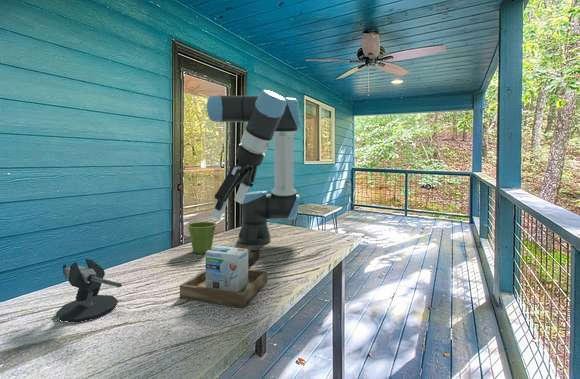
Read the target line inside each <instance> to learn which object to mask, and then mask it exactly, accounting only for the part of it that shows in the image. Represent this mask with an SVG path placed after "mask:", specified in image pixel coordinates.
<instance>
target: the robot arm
mask: <svg viewBox="0 0 580 379" xmlns="http://www.w3.org/2000/svg"><path fill="white" fill-rule="evenodd" d="M206 102H207V103H206V111H207V112H206V114H207V116H208V118H209V120H210V121H211V122H213V123H214V122H216V123H245V124H247V125H246V127H245V129H244V132H243V134H242V135H241V138H240V143H239V144H238V147H237V149H236V152H235V157H236V159H237V160H238V163H236V165H235V166H234V165H232V166H231V167H230V169H229V171H228V172H227V174H226V176H225V177H224V180H223V182H222V183H221V185H220V186H219V188H218V189H217V192H216V193H215V194H214V197H213V198H214V199H216V202H215V205H214V207H213V210H212V213H211V214H210V216H211V217H212V218H215V219H216V220H218V221H220V220H221V218H222V216H223V215H224V211H225V208H226V207H227V204H228V198H230V196H231V195H232V194H233V192H234V191H235V189H236V187H237V186H238V185H239V183H240V185H239V187H238V190H237V192H236V194H235V197H234V199H233V200H234V201H235V202H237V203H238V204H241V227H240V230H239V233H238V243H240V244H244V245H249V246H250V245H251V246H253V245H254V246H255V245H256V246H257V245H258V246H259V245H264V244H268V243H270V242H271V239H272V238H271V233H270V230H269V226H268V220H285V221H287V220H288V221H290V220H296V219H297V216H298V213H299V212H298V211H299V205H300V194H298V193H297V192H298V191H297V189H296V188H294V187H295V186H294V177H295V176H294V169H295V168H294V162H295V161H294V158H295V154H294V153H295V151H294V148H295V147H294V144H295V142H294V141H295V134H296V133H297V132H298V128H300V127H301V125H302V124H301V121H302V120H301V112H300V111H301V110H300V106H299V105H300V104H299V101H298V99H296V98H293V97H283V96H281V95H279V94H278V93H276V92H273V91H270V90H266V89H262V90H260V92H259V93H258V95H220V94H218V95H211V96H209V97H208V98H207V101H206ZM272 139H273V157H274V158H273V160H274V161H273V162H274V164H273V165H274V166H273V167H274V168H273V169H274V171H273V172H274V174H273V175H274V177H273V178H274V188H272V190H271V192H270V193H268V191H267V190H258V191H257V190H256V191H249V188H252V187H253V186H254V182H255V179H256V176H257V171H258V170H257V169H258V167H260V166H261V164H262V162H263V160H264V157H265V156H266V154H265V153H267V151H268V148H271V147H272V144H271V141H272ZM248 191H249V192H248Z"/></svg>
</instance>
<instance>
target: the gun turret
mask: <svg viewBox="0 0 580 379" xmlns="http://www.w3.org/2000/svg"><path fill="white" fill-rule="evenodd" d="M85 263H86V265H87V267H85V266H82V265H78V264H77V262H76V261H75V262H73V263H72V264H70V266H67V264H63V265H62V269H63V270H62V272H63V275H64V279H68V280H67V281H68V282H69V284H70V285H71V287H75V288H78V290H77V292H76V295H75V300H72V301H71V302H67V303H66V304H64V305H62V307H61V308H59V309H58V310H57V311H56V312H55V314H56V315H57V316H58V317H59V319H60V320H61V321H68V322H80V323H82V322H81V321H85V320H89V321H91V320H90V319H94V320H96V319H95V318H98V319H99V317H100V318H102V317H103V316H106V315H108V314H109V312H110V313H112V312H113V311H114V310H115V309H116V307H117V306H116V305H118V304H119V300H118V299H117V298H116V297H115V296H114V295H109V294H99V292H100V289H101V287H102V284H104V285H106V286H107V285H108V286H112V287H116V288H120V287H123V284H122V283H121V282H118V281H113V280H109V279H106V278H105V279H104V277H105V275H106V273H105V272H106V271H105V269H104V268H103V267H102V266H100V265H99V264H98V263H97V262H95V261H94V260H93V259H89V258H85ZM117 303H118V304H117ZM115 306H116V307H115ZM114 308H115V309H114ZM113 309H114V310H113ZM112 310H113V311H112ZM111 311H112V312H111ZM107 313H108V314H107ZM105 314H106V315H105ZM57 316H56V317H57ZM101 316H102V317H101ZM59 319H58V320H59ZM60 320H59V321H60ZM85 322H86V321H85Z"/></svg>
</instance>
